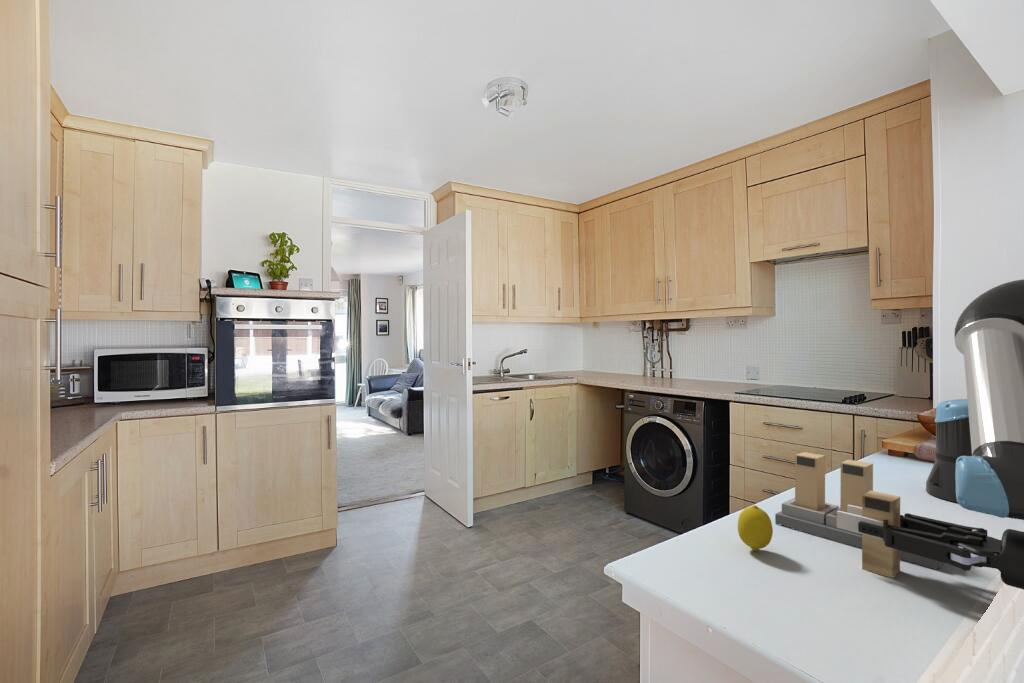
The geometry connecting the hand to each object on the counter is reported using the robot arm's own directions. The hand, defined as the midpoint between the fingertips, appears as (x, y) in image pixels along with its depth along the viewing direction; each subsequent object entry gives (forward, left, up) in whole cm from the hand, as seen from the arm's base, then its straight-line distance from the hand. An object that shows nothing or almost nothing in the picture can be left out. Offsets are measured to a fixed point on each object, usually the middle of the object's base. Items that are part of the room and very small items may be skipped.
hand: (843, 515), depth 83 cm
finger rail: (-12, -2, -7) cm, 14 cm away
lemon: (+9, -11, -7) cm, 16 cm away
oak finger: (0, +5, -7) cm, 9 cm away
